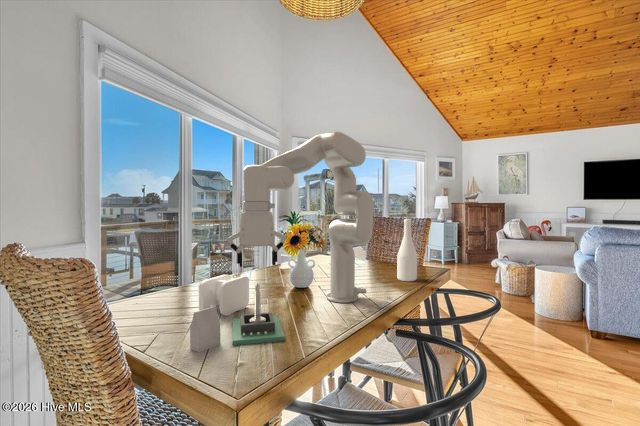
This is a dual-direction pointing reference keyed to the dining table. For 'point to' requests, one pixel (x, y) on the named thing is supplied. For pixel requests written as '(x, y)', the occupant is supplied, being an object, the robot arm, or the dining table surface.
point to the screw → (257, 307)
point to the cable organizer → (224, 293)
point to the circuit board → (257, 330)
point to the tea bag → (205, 329)
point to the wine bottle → (407, 256)
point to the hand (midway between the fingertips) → (257, 265)
